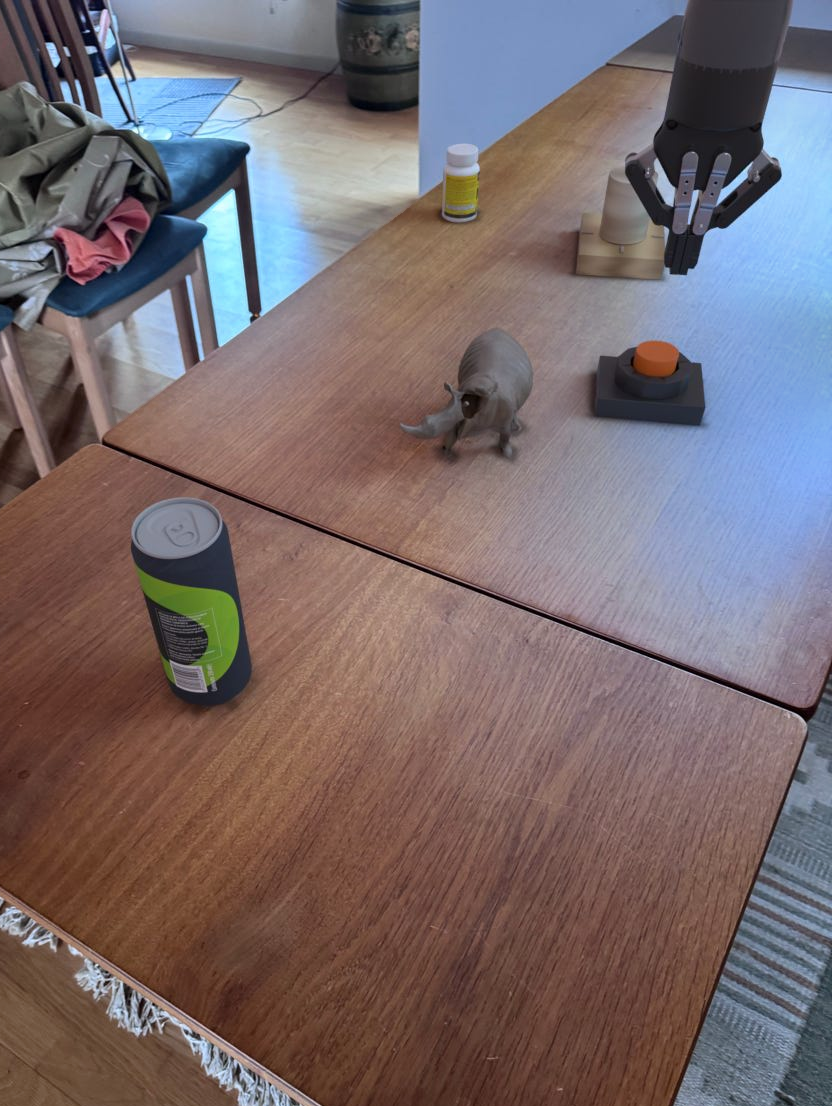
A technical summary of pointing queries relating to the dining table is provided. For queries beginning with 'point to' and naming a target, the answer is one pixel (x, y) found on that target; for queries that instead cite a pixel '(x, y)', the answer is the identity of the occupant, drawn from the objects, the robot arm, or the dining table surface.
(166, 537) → the beverage can
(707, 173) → the robot arm
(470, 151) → the supplement bottle
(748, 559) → the dining table surface
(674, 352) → the button
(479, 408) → the rhinoceros figurine
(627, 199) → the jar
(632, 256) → the tan square base
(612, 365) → the button box
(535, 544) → the dining table surface
